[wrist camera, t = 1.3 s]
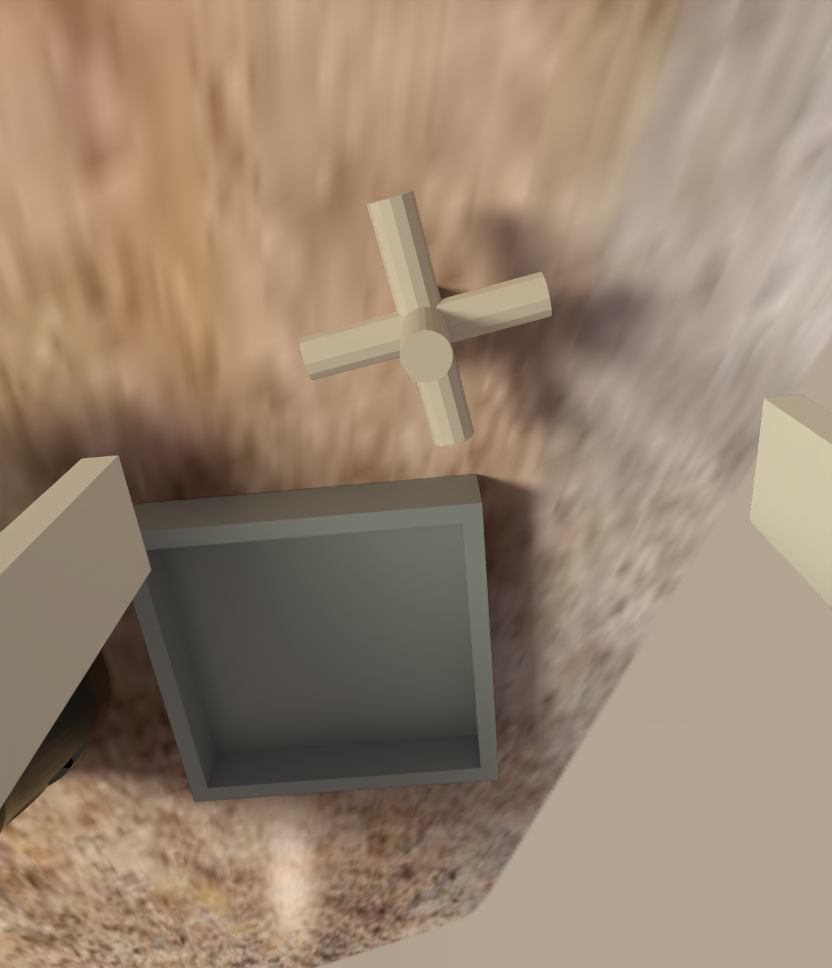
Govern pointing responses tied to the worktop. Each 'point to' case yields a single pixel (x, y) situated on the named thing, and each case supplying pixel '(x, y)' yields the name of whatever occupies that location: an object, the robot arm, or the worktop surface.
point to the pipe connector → (424, 321)
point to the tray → (323, 637)
